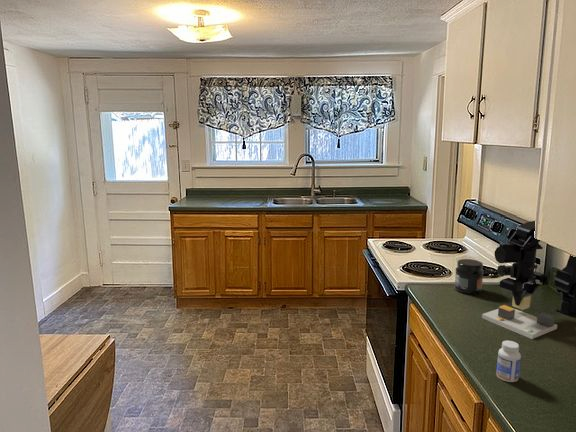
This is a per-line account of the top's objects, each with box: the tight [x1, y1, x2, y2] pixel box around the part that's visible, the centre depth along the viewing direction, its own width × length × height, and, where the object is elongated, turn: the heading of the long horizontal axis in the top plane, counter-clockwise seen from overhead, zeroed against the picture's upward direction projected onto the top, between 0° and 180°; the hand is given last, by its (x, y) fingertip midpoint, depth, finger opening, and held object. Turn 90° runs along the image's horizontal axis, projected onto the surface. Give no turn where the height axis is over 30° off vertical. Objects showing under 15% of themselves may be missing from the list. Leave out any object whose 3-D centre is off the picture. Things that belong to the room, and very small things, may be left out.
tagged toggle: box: [498, 304, 516, 320], centre depth 149 cm, size 3×4×3 cm
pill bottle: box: [496, 339, 522, 383], centre depth 116 cm, size 5×5×10 cm
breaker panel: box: [481, 308, 558, 340], centre depth 149 cm, size 14×18×2 cm
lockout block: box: [511, 292, 532, 311], centre depth 153 cm, size 4×4×5 cm
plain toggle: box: [536, 311, 556, 327], centre depth 144 cm, size 3×4×3 cm
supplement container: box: [453, 258, 484, 295], centre depth 178 cm, size 10×10×12 cm
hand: (521, 303), depth 153 cm, fingers closed on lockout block, 4 cm apart
